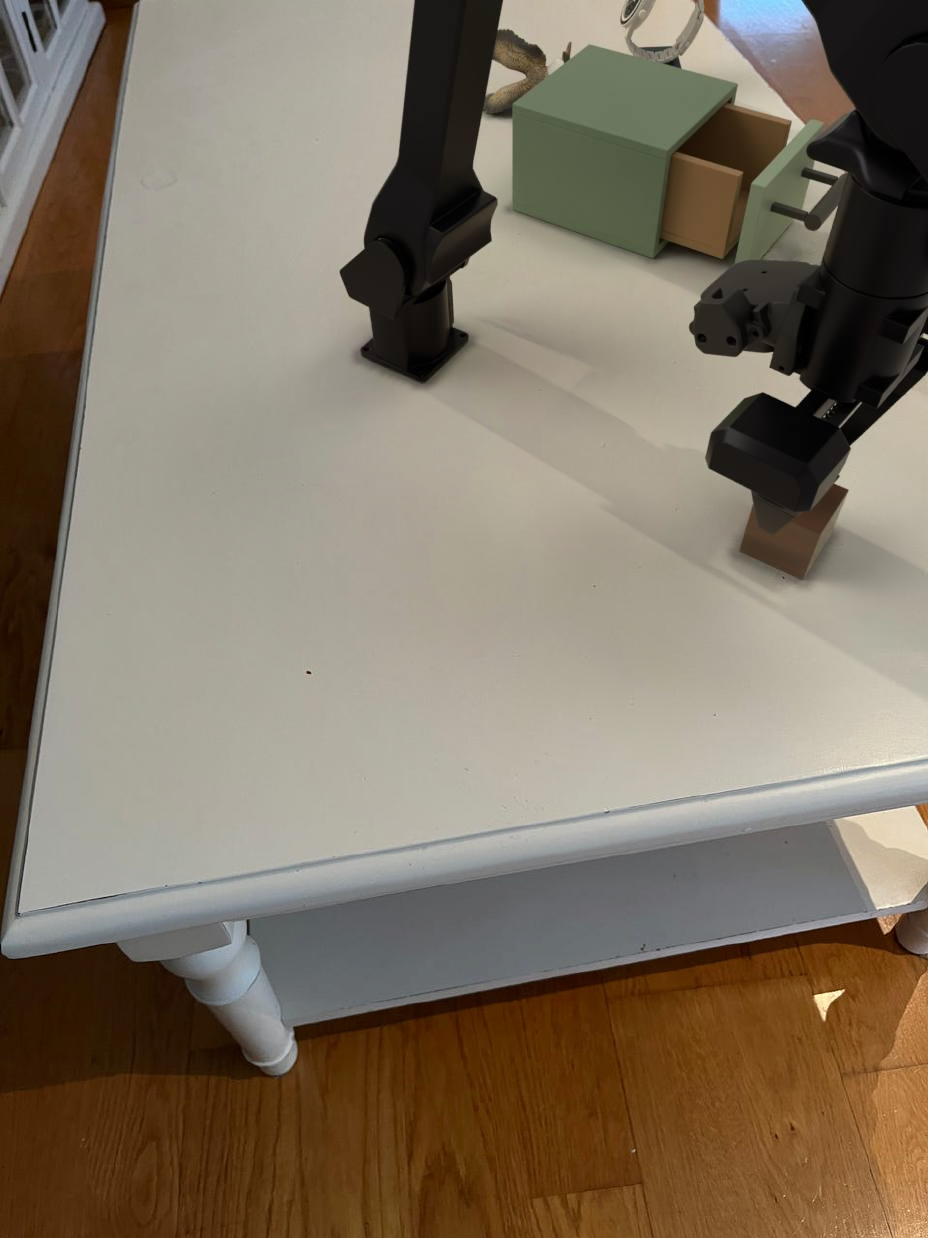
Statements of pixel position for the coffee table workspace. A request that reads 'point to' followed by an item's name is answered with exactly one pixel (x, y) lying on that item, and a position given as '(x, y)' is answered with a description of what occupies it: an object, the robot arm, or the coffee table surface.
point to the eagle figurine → (519, 68)
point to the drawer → (743, 184)
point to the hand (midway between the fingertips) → (804, 485)
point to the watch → (632, 18)
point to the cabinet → (607, 143)
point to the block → (795, 536)
